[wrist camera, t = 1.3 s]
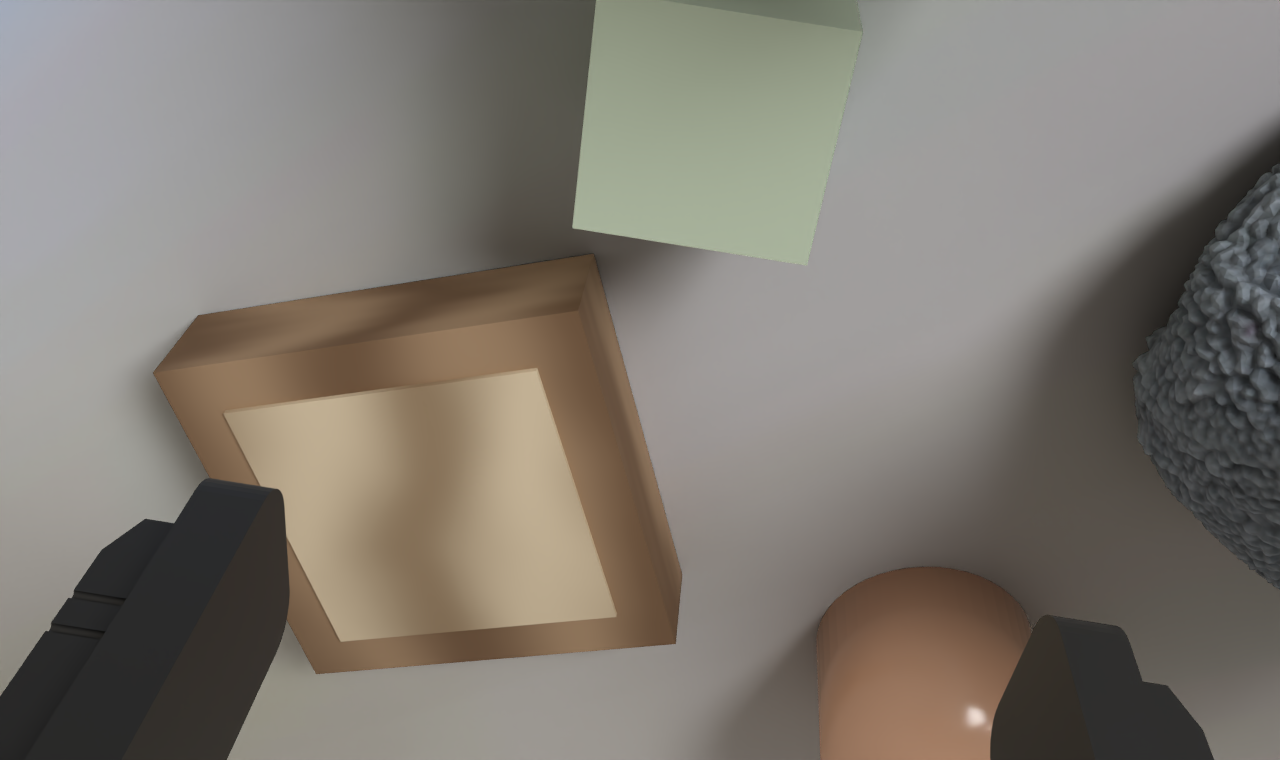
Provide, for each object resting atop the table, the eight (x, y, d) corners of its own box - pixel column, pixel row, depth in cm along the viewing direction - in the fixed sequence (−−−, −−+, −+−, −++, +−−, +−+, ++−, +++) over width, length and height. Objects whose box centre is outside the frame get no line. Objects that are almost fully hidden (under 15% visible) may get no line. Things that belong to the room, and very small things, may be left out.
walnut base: (593, 253, 31) (577, 313, 29) (682, 575, 38) (675, 647, 35) (198, 315, 34) (150, 375, 31) (344, 607, 40) (314, 677, 38)
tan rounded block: (1060, 585, 37) (1105, 740, 32) (994, 727, 41) (1024, 884, 36) (841, 550, 37) (852, 699, 32) (797, 695, 41) (800, 848, 36)
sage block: (846, -52, 26) (862, 32, 22) (801, 150, 29) (806, 265, 24) (630, -86, 26) (597, -10, 22) (606, 119, 29) (572, 228, 24)
